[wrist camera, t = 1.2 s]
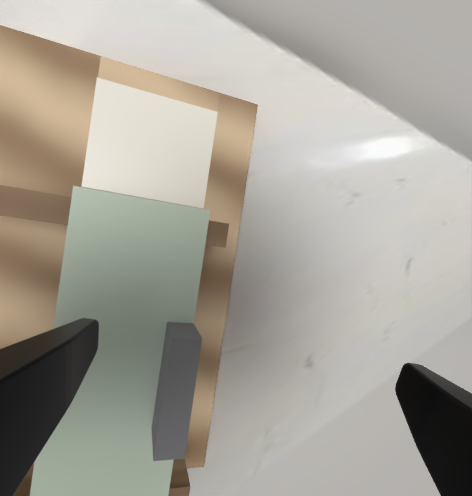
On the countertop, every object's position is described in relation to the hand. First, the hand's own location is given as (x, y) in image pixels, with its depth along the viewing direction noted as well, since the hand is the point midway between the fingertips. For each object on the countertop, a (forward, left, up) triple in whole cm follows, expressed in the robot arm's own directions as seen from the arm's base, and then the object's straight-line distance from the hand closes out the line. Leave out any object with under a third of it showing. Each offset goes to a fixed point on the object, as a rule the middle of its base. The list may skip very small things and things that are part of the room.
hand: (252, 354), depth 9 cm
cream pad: (+9, +4, -14) cm, 17 cm away
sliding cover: (-5, +4, -10) cm, 11 cm away
